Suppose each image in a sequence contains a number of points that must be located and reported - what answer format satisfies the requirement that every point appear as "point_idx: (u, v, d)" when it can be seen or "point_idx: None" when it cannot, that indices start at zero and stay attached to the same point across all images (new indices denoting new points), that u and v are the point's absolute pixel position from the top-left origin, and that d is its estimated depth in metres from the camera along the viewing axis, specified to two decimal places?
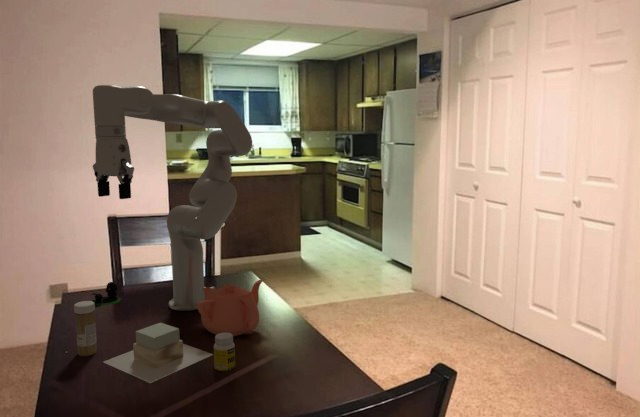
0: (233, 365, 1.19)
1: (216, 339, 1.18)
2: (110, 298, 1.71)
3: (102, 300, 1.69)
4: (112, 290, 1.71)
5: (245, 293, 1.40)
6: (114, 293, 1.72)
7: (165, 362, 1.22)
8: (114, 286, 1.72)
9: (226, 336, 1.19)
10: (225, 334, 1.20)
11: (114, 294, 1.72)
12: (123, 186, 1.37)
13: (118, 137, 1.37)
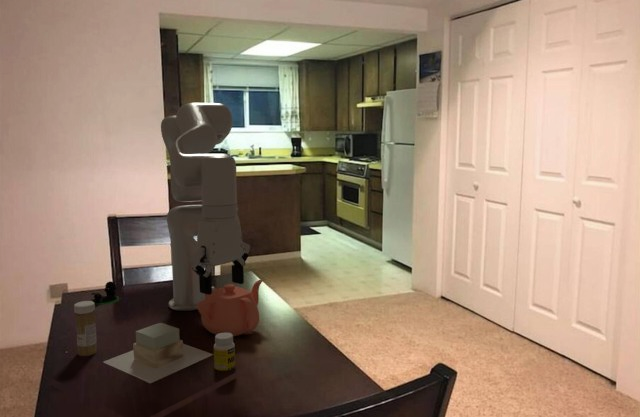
0: (233, 365, 1.19)
1: (216, 339, 1.18)
2: (109, 298, 1.72)
3: (101, 300, 1.70)
4: (111, 290, 1.71)
5: (245, 293, 1.40)
6: (113, 293, 1.73)
7: (165, 362, 1.22)
8: (113, 286, 1.72)
9: (226, 336, 1.19)
10: (225, 334, 1.20)
11: (113, 294, 1.73)
12: None
13: None
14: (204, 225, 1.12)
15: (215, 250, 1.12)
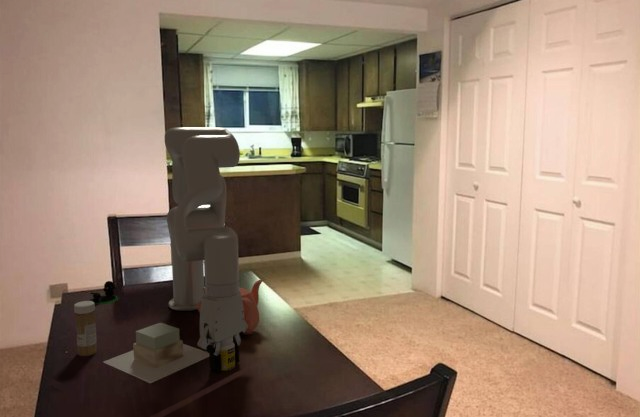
0: (233, 365, 1.19)
1: None
2: (108, 297, 1.72)
3: (100, 299, 1.70)
4: (110, 289, 1.72)
5: (245, 293, 1.40)
6: (112, 292, 1.73)
7: (165, 362, 1.22)
8: (112, 285, 1.73)
9: None
10: None
11: (112, 293, 1.73)
12: None
13: None
14: (207, 304, 1.14)
15: (218, 328, 1.15)
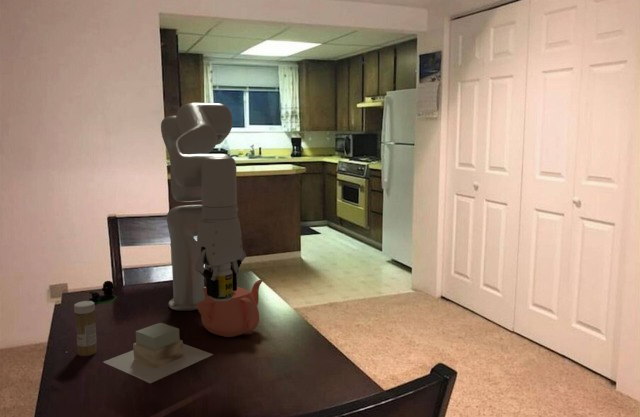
0: (231, 292, 1.17)
1: None
2: (107, 297, 1.73)
3: (99, 299, 1.71)
4: (109, 289, 1.73)
5: (245, 293, 1.40)
6: (110, 292, 1.74)
7: (165, 362, 1.22)
8: (111, 285, 1.73)
9: None
10: None
11: (110, 293, 1.74)
12: None
13: None
14: (204, 226, 1.12)
15: (215, 251, 1.12)
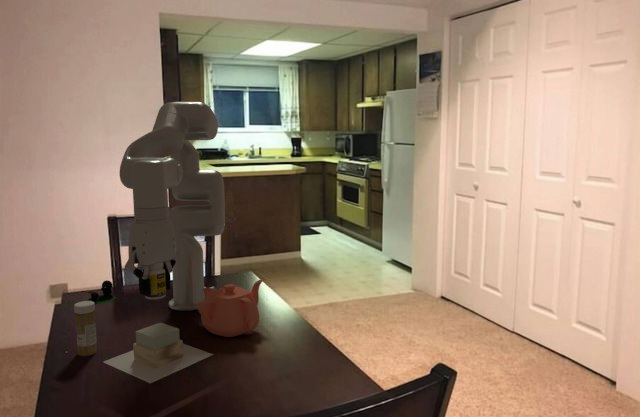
0: (163, 291, 1.21)
1: None
2: (106, 296, 1.73)
3: (98, 298, 1.71)
4: (108, 288, 1.73)
5: (245, 293, 1.40)
6: (109, 291, 1.74)
7: (165, 362, 1.22)
8: (109, 284, 1.73)
9: None
10: None
11: (109, 292, 1.74)
12: None
13: None
14: (135, 227, 1.16)
15: (145, 251, 1.17)
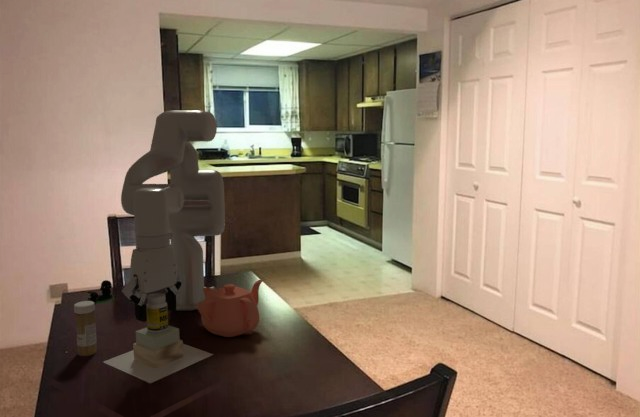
0: (165, 324, 1.23)
1: (148, 298, 1.22)
2: (105, 296, 1.73)
3: (97, 298, 1.71)
4: (107, 288, 1.73)
5: (245, 293, 1.40)
6: (109, 291, 1.74)
7: (165, 362, 1.22)
8: (109, 284, 1.74)
9: (158, 295, 1.22)
10: (158, 294, 1.24)
11: (109, 292, 1.74)
12: None
13: None
14: (136, 255, 1.17)
15: (146, 279, 1.18)
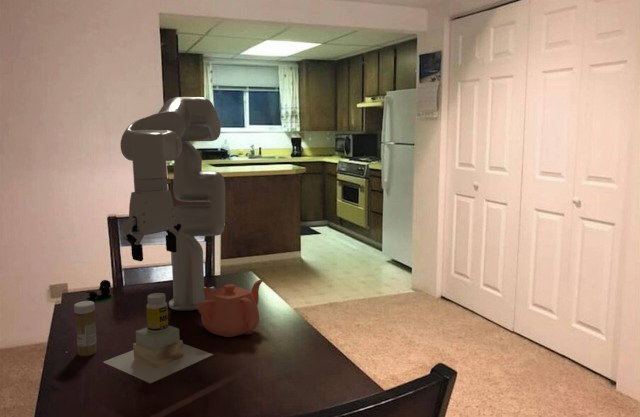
0: (165, 324, 1.23)
1: (148, 298, 1.22)
2: (104, 296, 1.73)
3: (96, 298, 1.71)
4: (106, 288, 1.73)
5: (245, 293, 1.40)
6: (108, 291, 1.75)
7: (165, 362, 1.22)
8: (108, 284, 1.74)
9: (158, 295, 1.22)
10: (158, 294, 1.24)
11: (108, 292, 1.75)
12: None
13: None
14: (135, 197, 1.20)
15: (145, 220, 1.21)
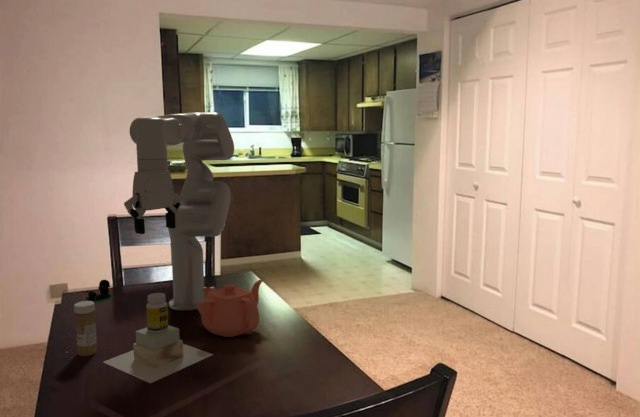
0: (165, 324, 1.23)
1: (148, 298, 1.22)
2: (103, 295, 1.74)
3: (95, 297, 1.72)
4: (105, 287, 1.74)
5: (245, 293, 1.40)
6: (107, 290, 1.75)
7: (165, 362, 1.22)
8: (107, 284, 1.74)
9: (158, 295, 1.22)
10: (158, 294, 1.24)
11: (107, 291, 1.75)
12: None
13: None
14: (138, 176, 1.33)
15: (147, 196, 1.34)
